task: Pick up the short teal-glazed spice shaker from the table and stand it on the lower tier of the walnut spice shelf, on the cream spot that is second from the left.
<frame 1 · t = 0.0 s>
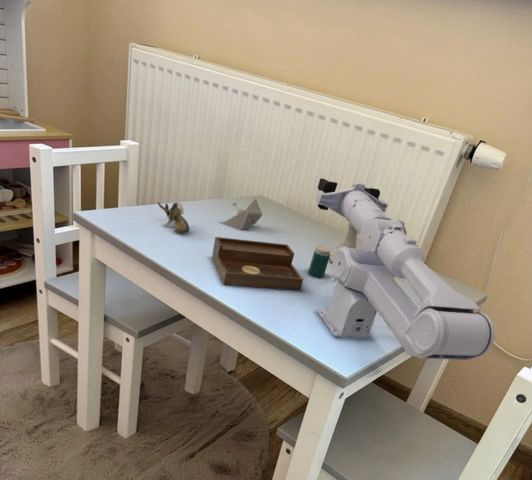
hand: (337, 185, 105), 22 cm above the table, tool horizontal, fingers open, 7 cm apart
spice shelf: (255, 274, 113), on the table
eagle figurine: (173, 227, 127), on the table
spice shaker: (316, 274, 121), on the table
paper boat: (242, 225, 140), on the table
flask: (342, 263, 132), on the table
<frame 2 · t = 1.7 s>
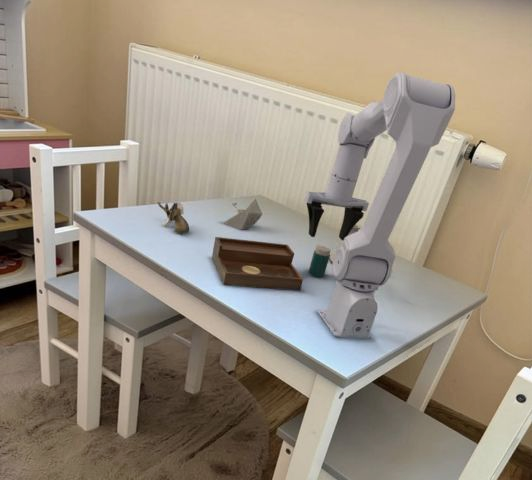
hand: (326, 237, 116), 9 cm above the table, tool pointing down, fingers open, 7 cm apart
nothing on the table moved.
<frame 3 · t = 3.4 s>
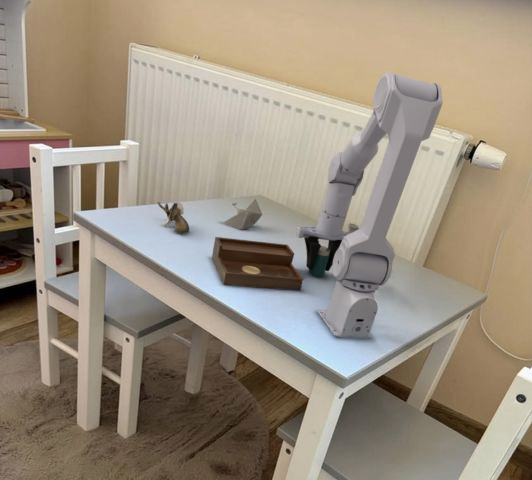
hand: (317, 268, 120), 1 cm above the table, tool pointing down, fingers closed on spice shaker, 4 cm apart
spice shaker: (315, 274, 121), on the table, touching gripper
everything else where it was.
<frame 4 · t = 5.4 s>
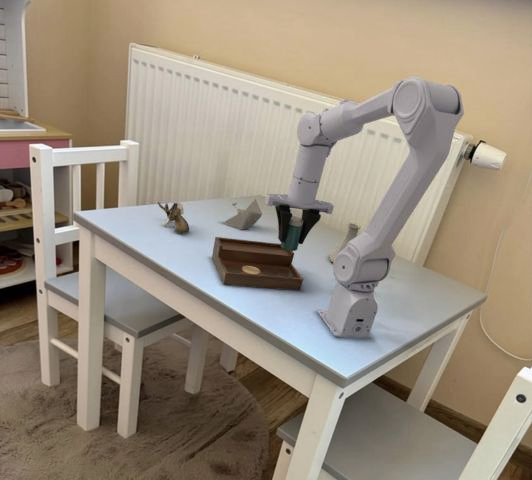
hand: (290, 241, 111), 8 cm above the table, tool pointing down, fingers closed on spice shaker, 4 cm apart
spice shaker: (288, 247, 112), point 7 cm above the table, touching gripper
everything else where it was.
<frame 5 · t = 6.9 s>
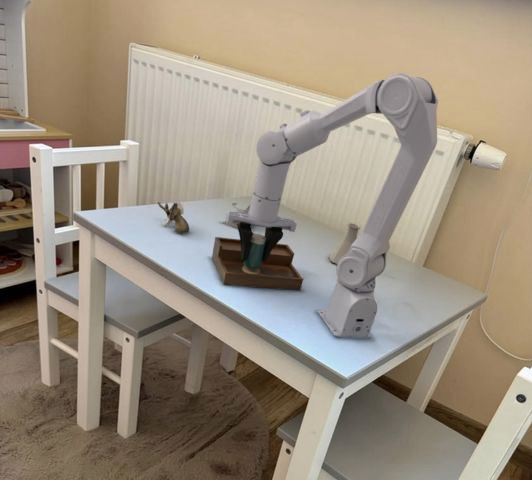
hand: (253, 259, 108), 5 cm above the table, tool pointing down, fingers closed on spice shaker, 4 cm apart
spice shaker: (251, 265, 109), point 3 cm above the table, touching gripper
everything else where it was.
when the fingers open (3 cm above the table, at t = 7.7 s): spice shaker stays where it is, resting on spice shelf.
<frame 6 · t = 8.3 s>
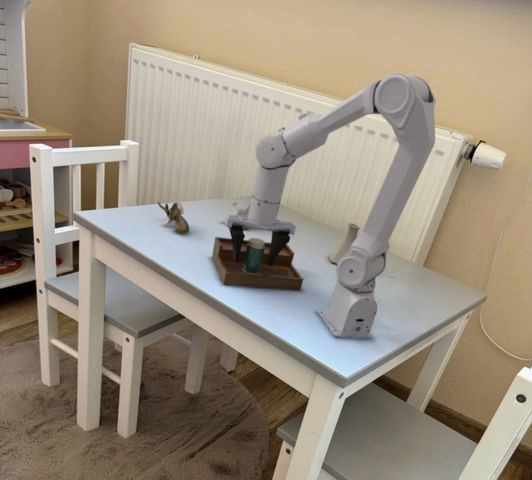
hand: (252, 262, 108), 4 cm above the table, tool pointing down, fingers open, 7 cm apart
spice shaker: (250, 269, 109), point 2 cm above the table, touching spice shelf
everything else where it was.
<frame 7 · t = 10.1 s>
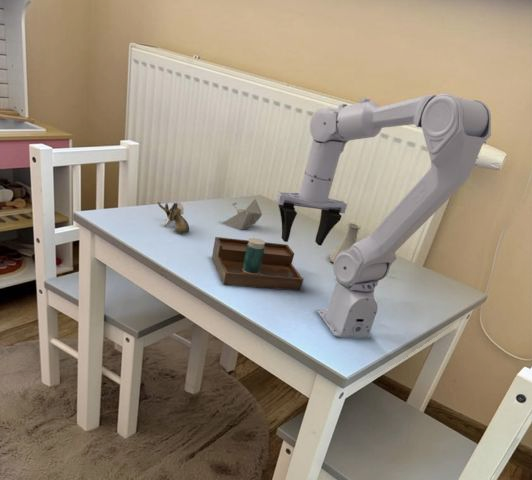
hand: (301, 241, 106), 10 cm above the table, tool pointing down, fingers open, 7 cm apart
nothing on the table moved.
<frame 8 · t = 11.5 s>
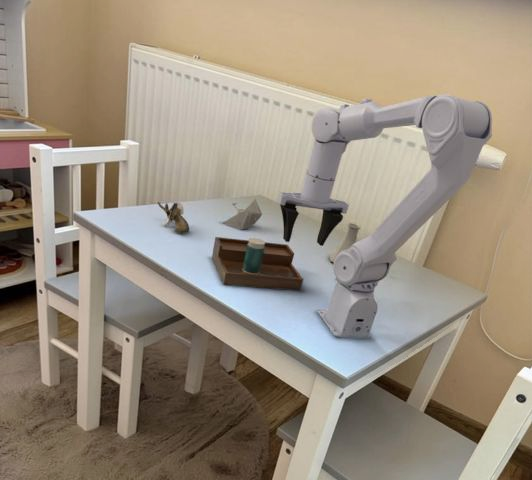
hand: (303, 242, 106), 10 cm above the table, tool pointing down, fingers open, 7 cm apart
nothing on the table moved.
at the end: spice shaker 0.1 cm from the target spot on the spice shelf, point 2.1 cm above the spice shelf's base; spice shaker tilted 0°; the gripper is holding nothing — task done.
